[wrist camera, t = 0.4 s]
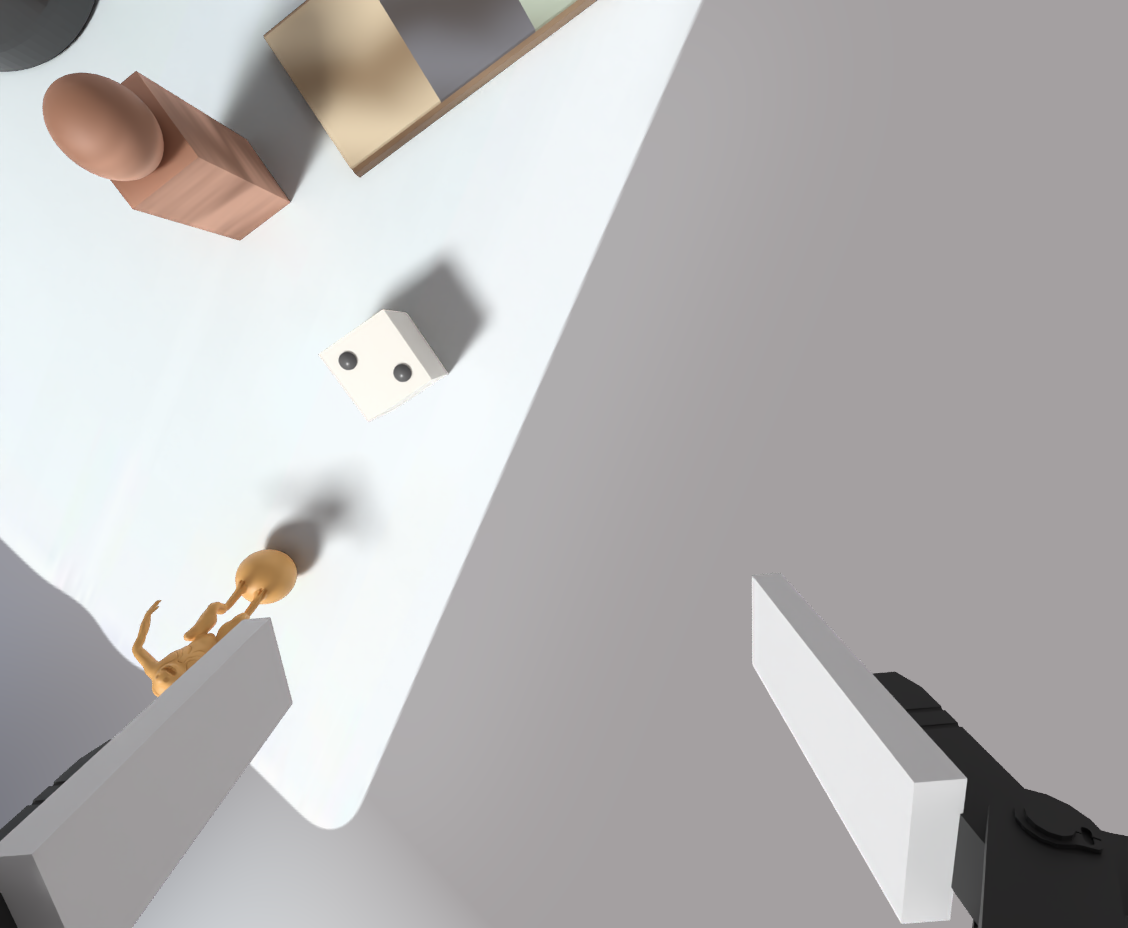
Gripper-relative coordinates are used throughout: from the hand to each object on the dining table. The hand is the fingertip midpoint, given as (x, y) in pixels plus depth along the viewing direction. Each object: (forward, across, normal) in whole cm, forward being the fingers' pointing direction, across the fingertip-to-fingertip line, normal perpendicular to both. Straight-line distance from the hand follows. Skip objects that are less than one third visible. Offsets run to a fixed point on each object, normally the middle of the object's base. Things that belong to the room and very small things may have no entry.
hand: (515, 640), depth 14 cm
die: (+25, -10, +7) cm, 28 cm away
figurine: (+25, -22, -8) cm, 35 cm away
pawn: (+25, -18, +19) cm, 36 cm away
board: (+25, -3, +28) cm, 38 cm away
